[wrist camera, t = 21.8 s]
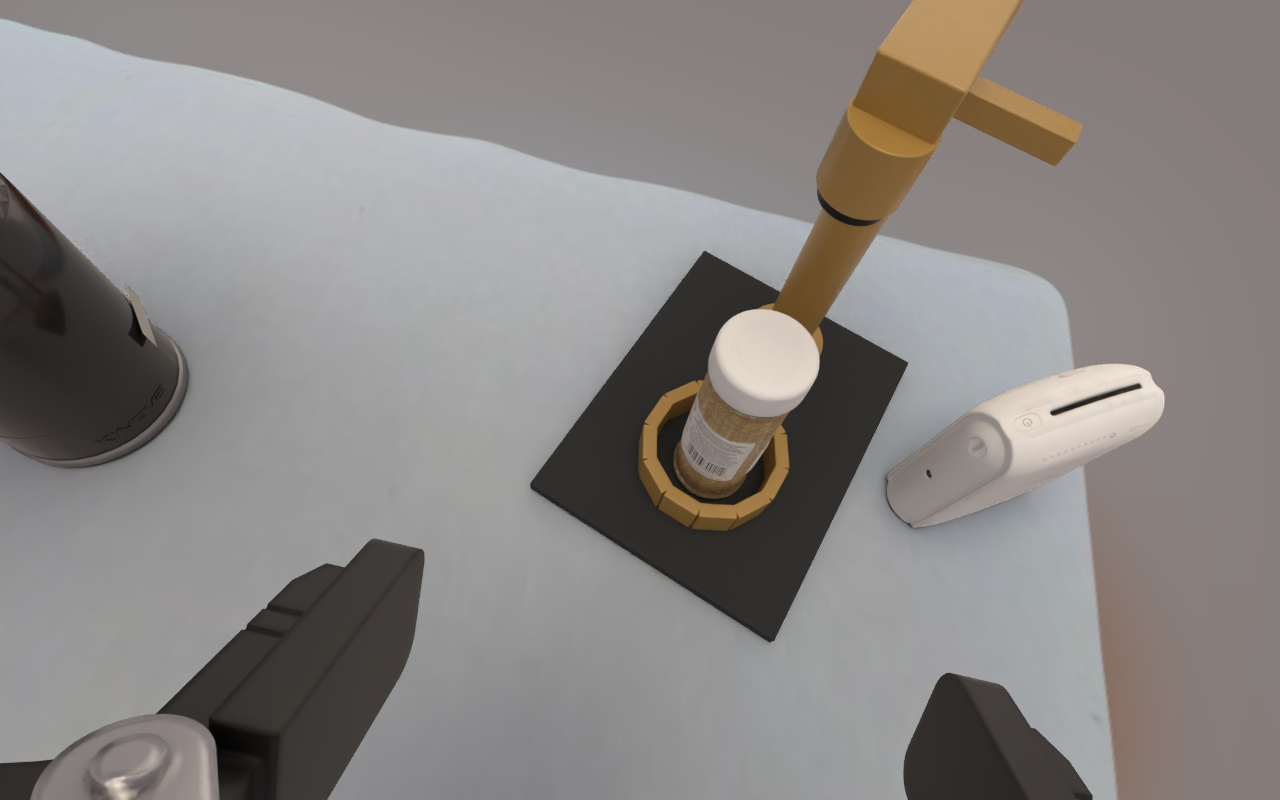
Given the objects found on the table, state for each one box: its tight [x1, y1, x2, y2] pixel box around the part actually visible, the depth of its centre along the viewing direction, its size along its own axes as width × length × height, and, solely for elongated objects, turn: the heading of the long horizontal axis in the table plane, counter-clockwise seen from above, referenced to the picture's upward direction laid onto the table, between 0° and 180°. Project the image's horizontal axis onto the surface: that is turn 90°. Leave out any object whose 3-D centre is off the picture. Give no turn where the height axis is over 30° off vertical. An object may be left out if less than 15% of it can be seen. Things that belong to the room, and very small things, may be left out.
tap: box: [638, 0, 1083, 531], centre depth 29 cm, size 10×17×27 cm, turn 148°
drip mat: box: [530, 251, 908, 642], centre depth 41 cm, size 16×21×1 cm
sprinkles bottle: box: [673, 309, 820, 499], centre depth 33 cm, size 5×5×14 cm
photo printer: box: [887, 364, 1164, 528], centre depth 36 cm, size 10×4×12 cm, turn 109°
